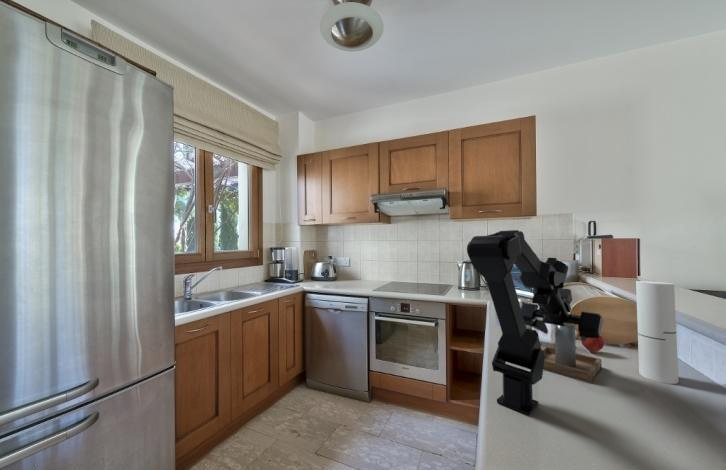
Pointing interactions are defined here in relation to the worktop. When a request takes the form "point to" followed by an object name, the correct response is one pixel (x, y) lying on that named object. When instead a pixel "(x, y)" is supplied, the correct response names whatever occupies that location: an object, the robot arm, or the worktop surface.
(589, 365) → the walnut tray
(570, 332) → the cylinder
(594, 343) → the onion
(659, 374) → the cylindrical container
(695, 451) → the worktop surface
